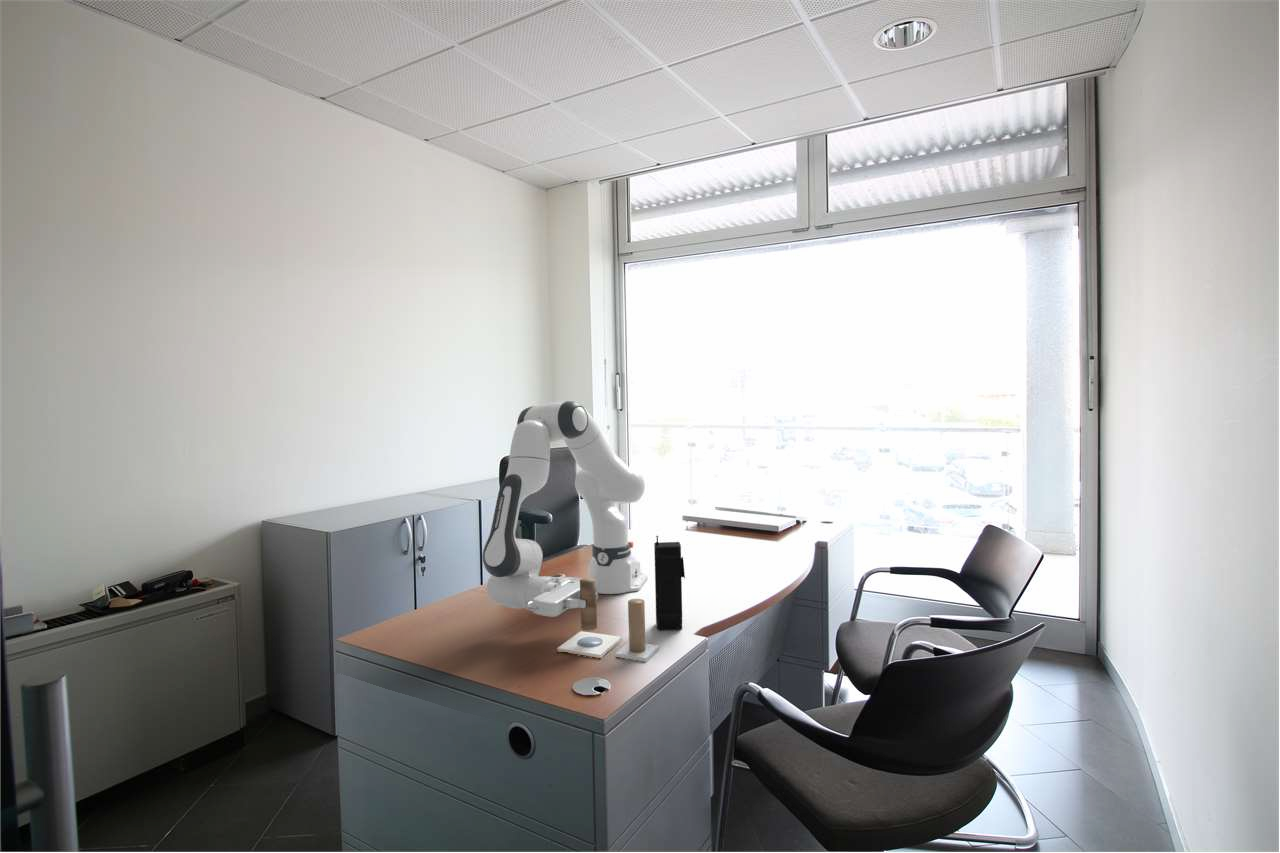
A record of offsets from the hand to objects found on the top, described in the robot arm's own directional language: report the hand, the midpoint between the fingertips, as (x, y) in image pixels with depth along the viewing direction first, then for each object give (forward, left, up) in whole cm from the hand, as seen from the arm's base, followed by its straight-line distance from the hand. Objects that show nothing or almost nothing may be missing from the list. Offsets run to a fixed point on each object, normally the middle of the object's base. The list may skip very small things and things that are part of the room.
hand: (591, 600), depth 170 cm
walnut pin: (0, -1, -7) cm, 7 cm away
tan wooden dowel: (0, +12, -12) cm, 17 cm away
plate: (0, -1, -12) cm, 12 cm away
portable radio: (-20, +13, -12) cm, 27 cm away
